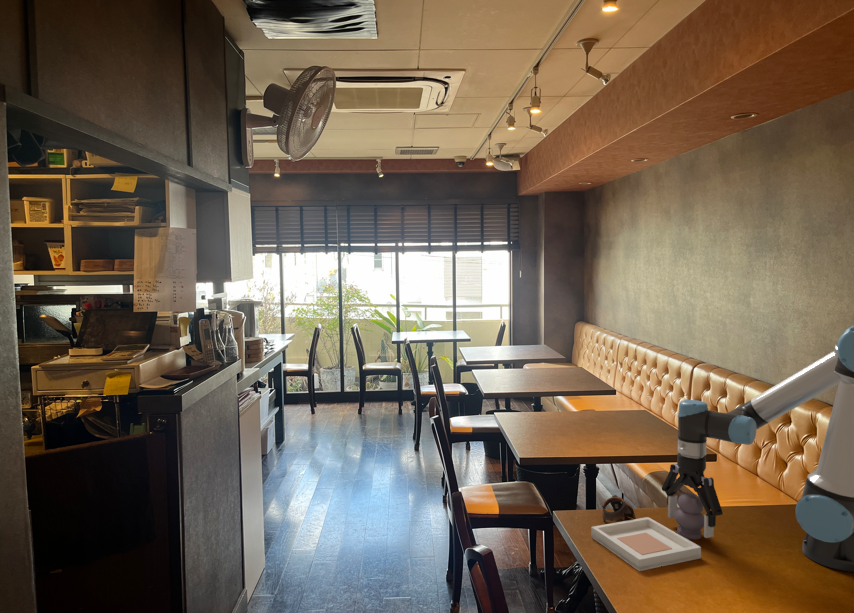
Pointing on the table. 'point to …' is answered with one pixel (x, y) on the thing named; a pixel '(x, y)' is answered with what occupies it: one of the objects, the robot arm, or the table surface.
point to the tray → (645, 543)
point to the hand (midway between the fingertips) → (689, 526)
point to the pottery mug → (617, 509)
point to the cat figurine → (689, 516)
